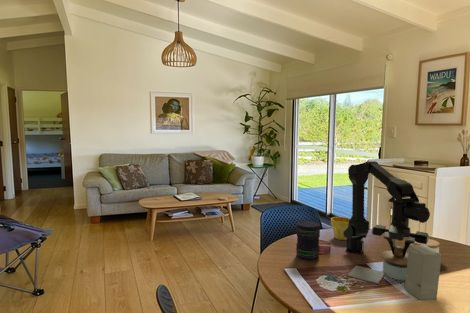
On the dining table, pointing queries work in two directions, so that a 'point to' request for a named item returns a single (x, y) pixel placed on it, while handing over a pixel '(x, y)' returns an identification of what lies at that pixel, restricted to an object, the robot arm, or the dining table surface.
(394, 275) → the bowl
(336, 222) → the plant pot
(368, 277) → the grey flat square slab
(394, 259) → the lid
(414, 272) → the skincare box
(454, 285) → the dining table surface
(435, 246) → the lidded jar
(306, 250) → the storage jar
